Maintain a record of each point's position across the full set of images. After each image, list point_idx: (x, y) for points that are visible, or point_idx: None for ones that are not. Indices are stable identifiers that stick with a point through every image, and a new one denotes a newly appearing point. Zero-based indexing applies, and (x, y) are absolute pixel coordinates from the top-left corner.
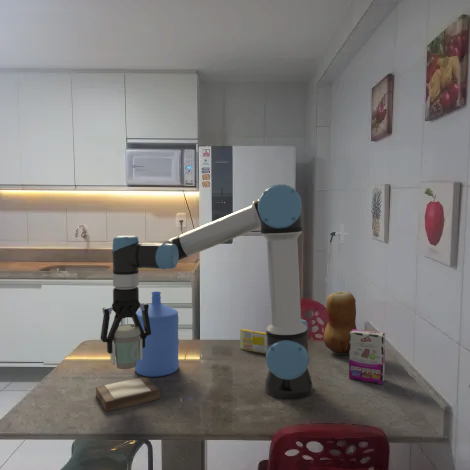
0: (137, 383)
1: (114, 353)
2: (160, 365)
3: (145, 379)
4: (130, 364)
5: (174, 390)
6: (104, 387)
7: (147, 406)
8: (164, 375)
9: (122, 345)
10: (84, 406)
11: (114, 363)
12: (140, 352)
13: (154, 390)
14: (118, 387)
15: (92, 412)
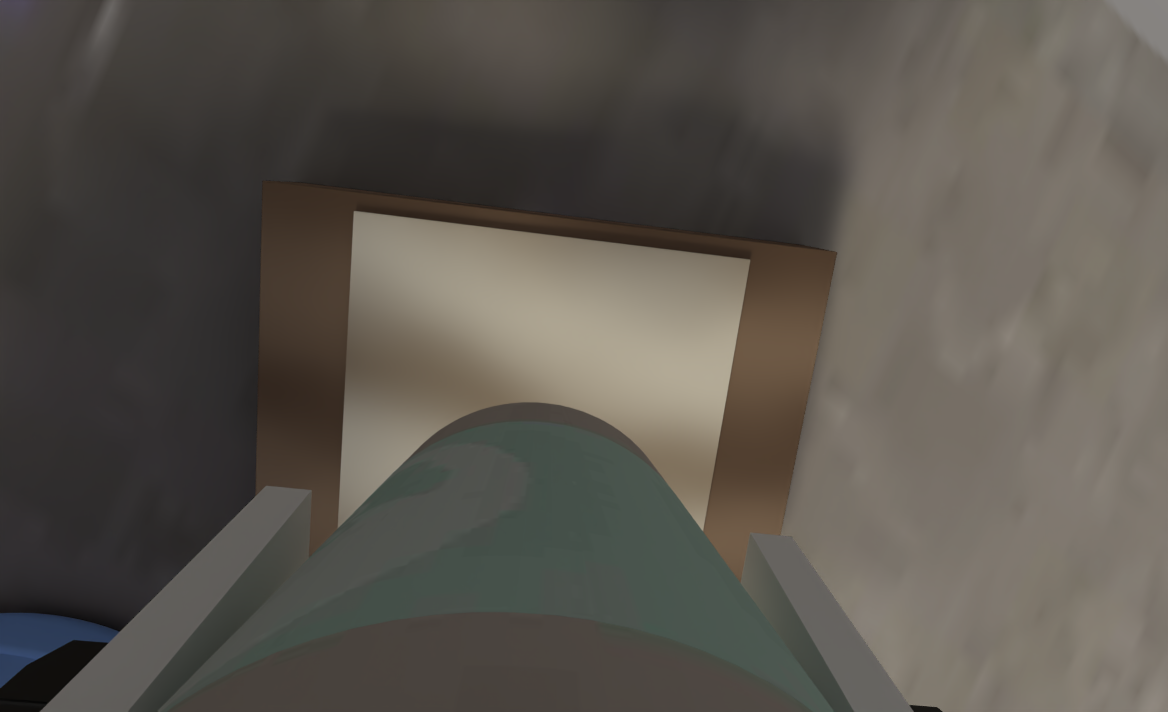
0: (403, 460)
1: (839, 658)
2: None
3: None
4: (528, 418)
5: (88, 261)
6: None
7: (463, 103)
8: (46, 615)
9: (779, 663)
10: (896, 448)
11: (771, 545)
12: (241, 560)
13: (314, 197)
14: None
15: (895, 304)
